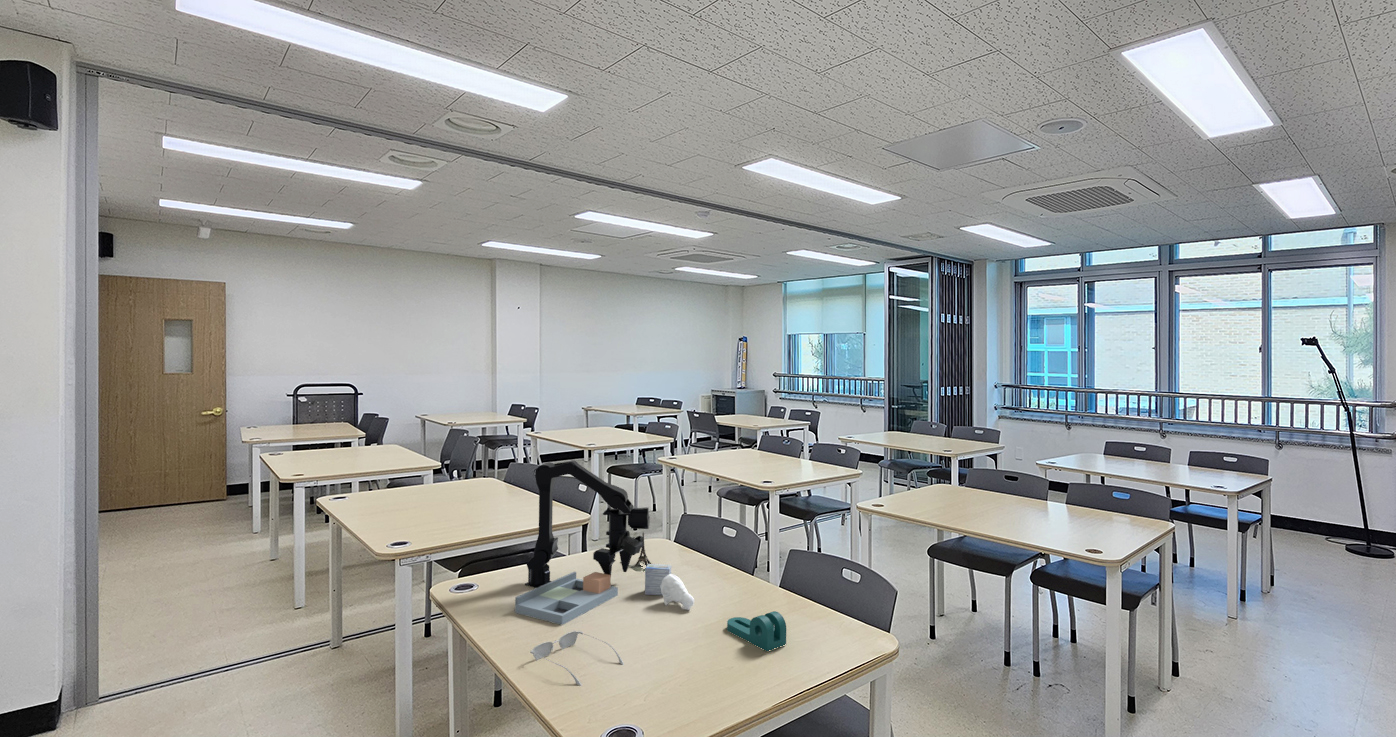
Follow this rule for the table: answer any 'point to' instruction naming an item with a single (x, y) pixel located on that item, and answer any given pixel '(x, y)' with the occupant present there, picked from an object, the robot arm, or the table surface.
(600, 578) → the block
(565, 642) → the eyeglasses
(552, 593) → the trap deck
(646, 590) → the medicine box
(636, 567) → the eiffel tower figurine
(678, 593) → the white animal figurine
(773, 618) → the bracket
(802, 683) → the table surface
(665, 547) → the table surface
